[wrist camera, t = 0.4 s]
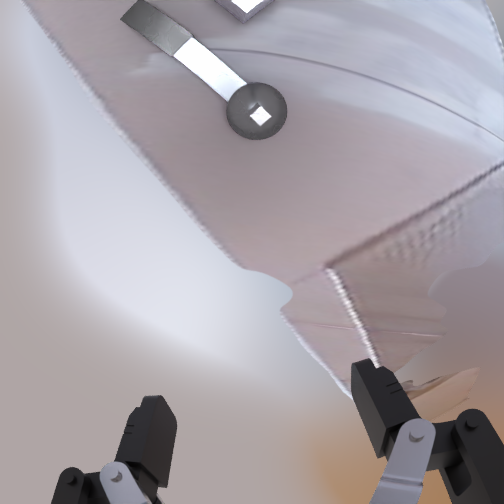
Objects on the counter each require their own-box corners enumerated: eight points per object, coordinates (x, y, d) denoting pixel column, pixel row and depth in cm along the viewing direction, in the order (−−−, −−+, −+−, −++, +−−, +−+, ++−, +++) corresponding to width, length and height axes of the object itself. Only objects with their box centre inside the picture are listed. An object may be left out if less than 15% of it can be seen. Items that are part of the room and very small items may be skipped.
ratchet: (293, 109, 30) (307, 118, 25) (254, 144, 32) (259, 160, 27) (157, -7, 20) (141, -22, 15) (119, 33, 22) (96, 27, 17)
